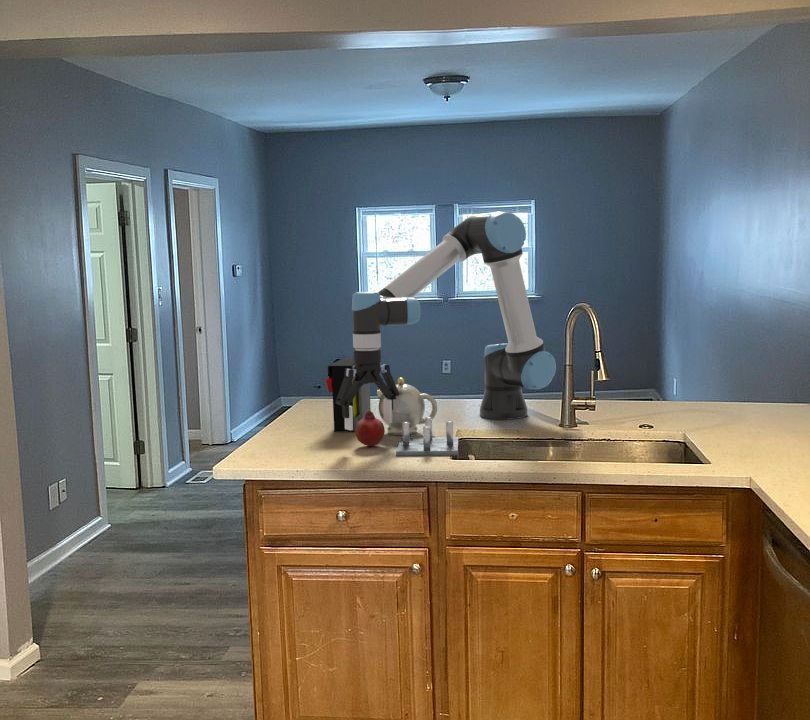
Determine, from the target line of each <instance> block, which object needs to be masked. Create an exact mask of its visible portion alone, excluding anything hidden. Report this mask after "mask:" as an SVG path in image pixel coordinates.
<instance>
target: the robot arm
mask: <svg viewBox="0 0 810 720" xmlns="http://www.w3.org/2000/svg"><path fill="white" fill-rule="evenodd" d="M526 240H527V231H526V226H525V225H524V223H523V221H522V219H520V217H519V216H518V215H516V214H514V213H512V212H508V211H494V212H486V213H477V214H473V215H471V216H469V217H467V218H465V219H464V220H462V222H460V223H458V224H457V225H456V226H455V227H454V228H452V229H451V230H450V231H449V232H447V233H446V234H445V235H443V237H442V241H441V242H440V243H439V244H438V245H437V244H436V246H435V247H433V248H432V249H431V250H430V251H429V252H427V253H426V254H425V255H424V256H422V257H421V258H420V259H419V260H417V261H416V262H415V263H414V264H412V265H411V266H410V267H408V268H407V269H406V270H404V271H403V272H401V274H400V275H398V276H397V277H396V278H395V279H393V280H392V281H391V282H390V283H388V284H387V285H386V286H384V287H383V288H382V289H380V290H379V291H357V292H354V293H353V294H352V299H351V313H352V316H351V317H352V347H353V348H354V350H353V351H352V352H353V354H352V355H353V356H352V358H353V362H354V364H355V368H354V369H345V374H344V379H343V382H342V385H341V388H340V390H339V393H338V396H337V399H336V404H339V405H342V416H343V418H345V429H346V430H353V407H352V406H350V404H351V402H352V401H353V399H354V397H355V396H356V394H357V392H358V391H359V389H360V387H361V386H363V384H368V383H371V384H373V383H374V384H375V385H376V387H377V389H378V390H380V391H381V392H382V393H383V394H384V396H385V397H386V398H387V399H383V405H384V421H383V422H384V423H385V422H386V423H392V410H393V399H394V400H395V399H396V396H399V392H398V389H397V387H396V382H395V380H394V378H393V376H392V373H391V367H390V365H389V364H385V363H381V362H382V351H381V349H380V348H381V347H382V340H381V336H382V335H381V327H387V326H404V325H405V326H408V325H414V324H417V323H418V322H419V321H420V318H421V315H422V313H421V312H422V309H421V304H420V301H419V300H418V299H417V298H415V297H416V296H417V295H418V294H419V293H420V292H422V291H423V290H424V289H426V288H427V287H428V286H429V285H430V284H432V283H433V282H434V281H436V280H437V278H440V276H442V275H443V274H444V273H446V272H447V271H448V270H449V269H451V268H452V267H453V266H455V264H457V263H458V262H459V263H460V262H461V263H462V262H464V261H466V260H467V259H468V258H470V257H472V256H474V255H478V254H481V256H482V260H483V264H485V265H487V266H488V267H489V268H490V270H491V271H490V272H491V275H492V279H493V285H494V287H495V292H496V296H497V301H498V304H499V308H500V313H501V317H502V321H503V324H504V329H505V334H506V337H507V342H508V343H497V344H496V343H495V344H488V345H486V346H485V347H484V352H483V363H484V365H483V366H484V371H483V372H484V394H483V398H482V400H481V404H480V406H479V416H480V417H482V418H486V419H491V420H513V419H520V418H525V417H527V416H528V406H527V402H526V400H525V398H524V394H523V390H522V389H523V388H525V389H527V390H541V389H543V388H546V387H547V386H548V385H550V383H551V382H552V381H553V378H554V377H555V374H556V370H557V362H556V359H555V357H554V355H552V354H551V353H550V352H548V351H546V348H545V344H544V340H543V339H542V338H540V337H538V336H537V331H536V328H535V324H534V319H533V315H532V311H531V306H530V302H529V297H528V293H527V289H526V285H525V280H524V275H523V273H522V268H521V263H520V258H522V256H523V255H524V254H523V249H522V248H523V247H524V245H525V241H526ZM380 373H381V375H382V376H381V375H380ZM354 376H355V378H354V380H353V377H354ZM382 377H383V378H382ZM352 381H353V383H352ZM351 384H352V385H351ZM350 386H351V387H350ZM386 423H385V424H386Z"/></svg>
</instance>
